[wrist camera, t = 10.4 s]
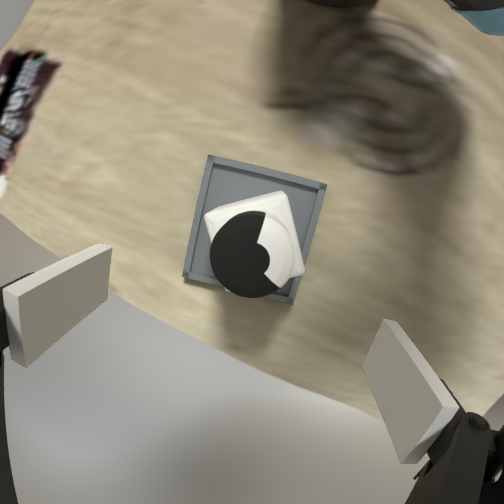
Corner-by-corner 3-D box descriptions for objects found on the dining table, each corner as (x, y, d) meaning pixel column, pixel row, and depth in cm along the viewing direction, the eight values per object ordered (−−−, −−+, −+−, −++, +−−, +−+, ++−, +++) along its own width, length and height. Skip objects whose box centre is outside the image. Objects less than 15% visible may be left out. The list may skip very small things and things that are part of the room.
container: (234, 270, 37) (216, 317, 24) (216, 206, 35) (187, 222, 23) (298, 255, 36) (313, 296, 24) (282, 189, 35) (290, 195, 22)
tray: (210, 155, 35) (208, 154, 34) (325, 184, 35) (327, 184, 34) (184, 273, 38) (182, 276, 37) (291, 300, 38) (292, 304, 37)
